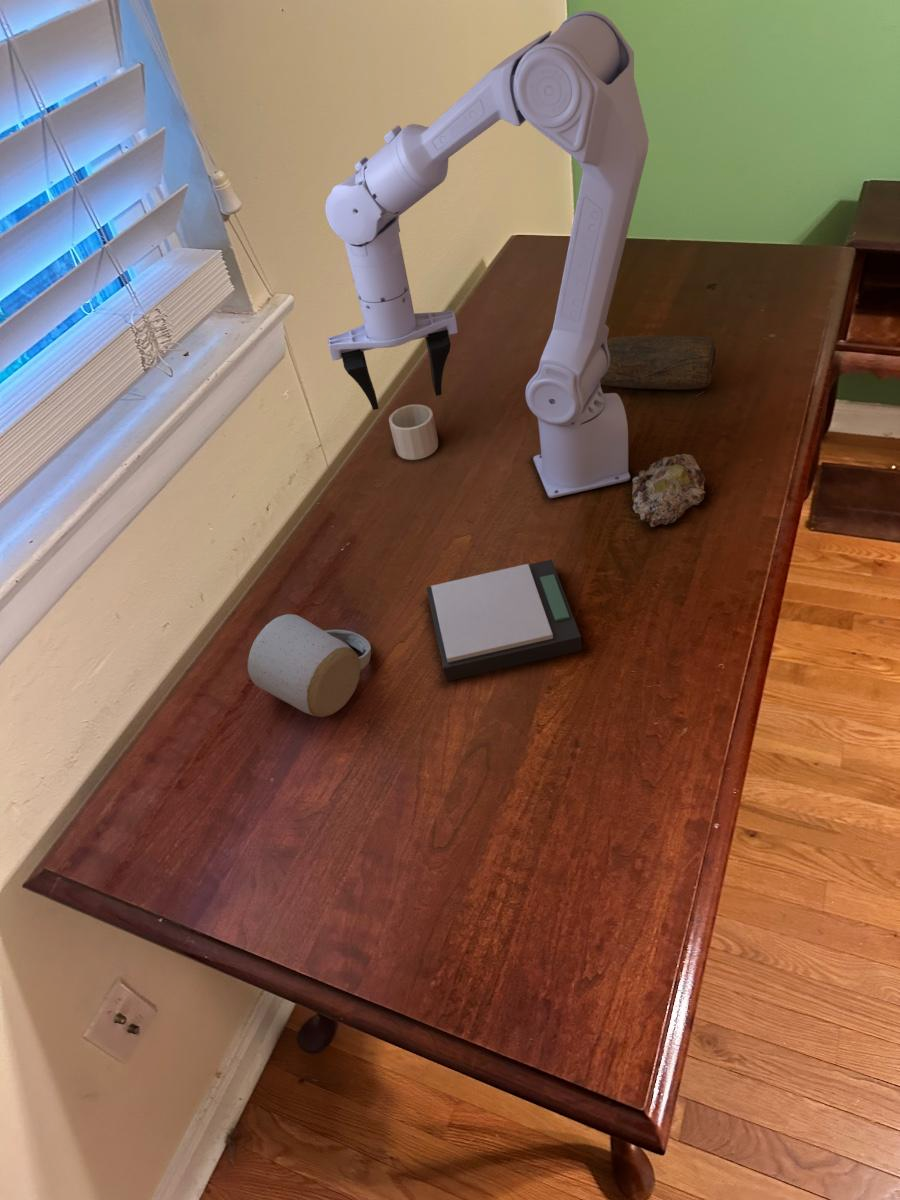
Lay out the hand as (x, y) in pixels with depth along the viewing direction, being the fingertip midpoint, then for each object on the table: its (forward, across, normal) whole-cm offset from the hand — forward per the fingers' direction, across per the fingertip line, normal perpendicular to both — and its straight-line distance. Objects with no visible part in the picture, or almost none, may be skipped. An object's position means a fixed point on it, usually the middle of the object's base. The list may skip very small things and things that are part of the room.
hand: (406, 398), depth 102 cm
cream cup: (+7, 0, 0) cm, 7 cm away
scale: (+7, -4, +33) cm, 34 cm away
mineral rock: (+7, -25, +20) cm, 33 cm away
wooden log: (+7, -31, -2) cm, 32 cm away
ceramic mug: (+7, +14, +35) cm, 38 cm away
